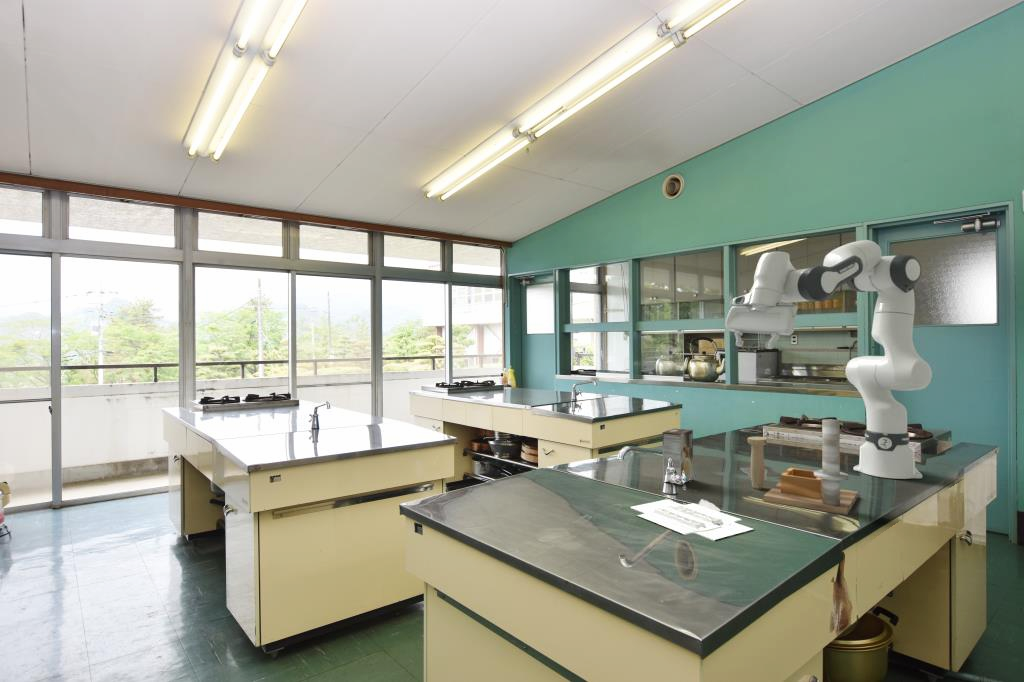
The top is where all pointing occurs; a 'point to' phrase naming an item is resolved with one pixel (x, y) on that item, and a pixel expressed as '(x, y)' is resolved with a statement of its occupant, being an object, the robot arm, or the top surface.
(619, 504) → the top surface
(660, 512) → the stacked white papers
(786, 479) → the rosette stand
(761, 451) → the handle
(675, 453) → the coffee box
